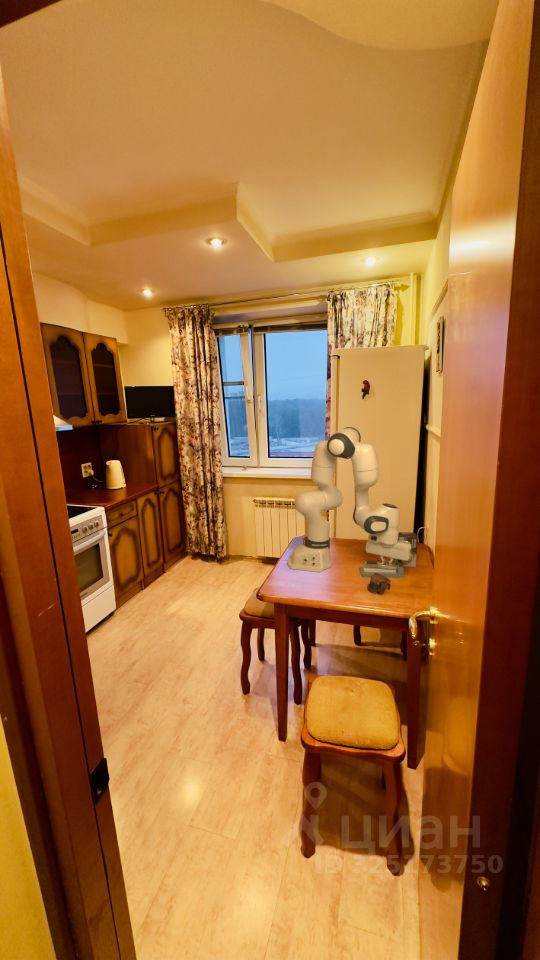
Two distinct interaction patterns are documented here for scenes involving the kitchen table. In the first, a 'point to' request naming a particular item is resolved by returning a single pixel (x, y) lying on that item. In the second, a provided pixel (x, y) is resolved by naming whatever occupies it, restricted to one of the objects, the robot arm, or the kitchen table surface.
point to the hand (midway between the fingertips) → (386, 564)
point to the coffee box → (413, 540)
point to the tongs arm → (380, 565)
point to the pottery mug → (378, 587)
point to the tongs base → (382, 571)
